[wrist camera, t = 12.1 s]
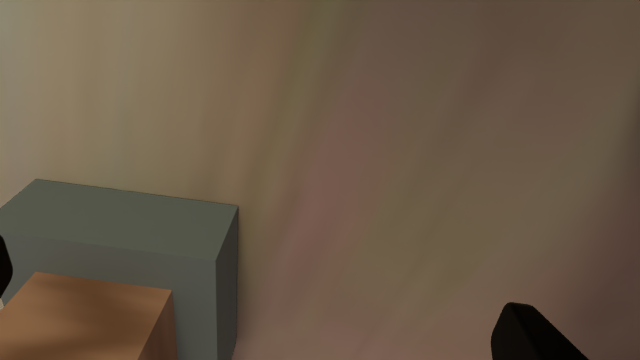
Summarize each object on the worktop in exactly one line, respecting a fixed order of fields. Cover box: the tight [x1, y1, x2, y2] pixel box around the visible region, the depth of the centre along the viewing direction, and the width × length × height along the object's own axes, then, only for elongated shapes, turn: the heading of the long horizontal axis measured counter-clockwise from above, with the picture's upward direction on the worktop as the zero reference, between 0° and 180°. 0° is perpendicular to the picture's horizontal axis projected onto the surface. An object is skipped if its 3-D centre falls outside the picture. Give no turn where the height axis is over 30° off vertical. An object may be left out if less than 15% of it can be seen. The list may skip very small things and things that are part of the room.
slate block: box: [0, 179, 238, 360], centre depth 23 cm, size 10×10×4 cm
